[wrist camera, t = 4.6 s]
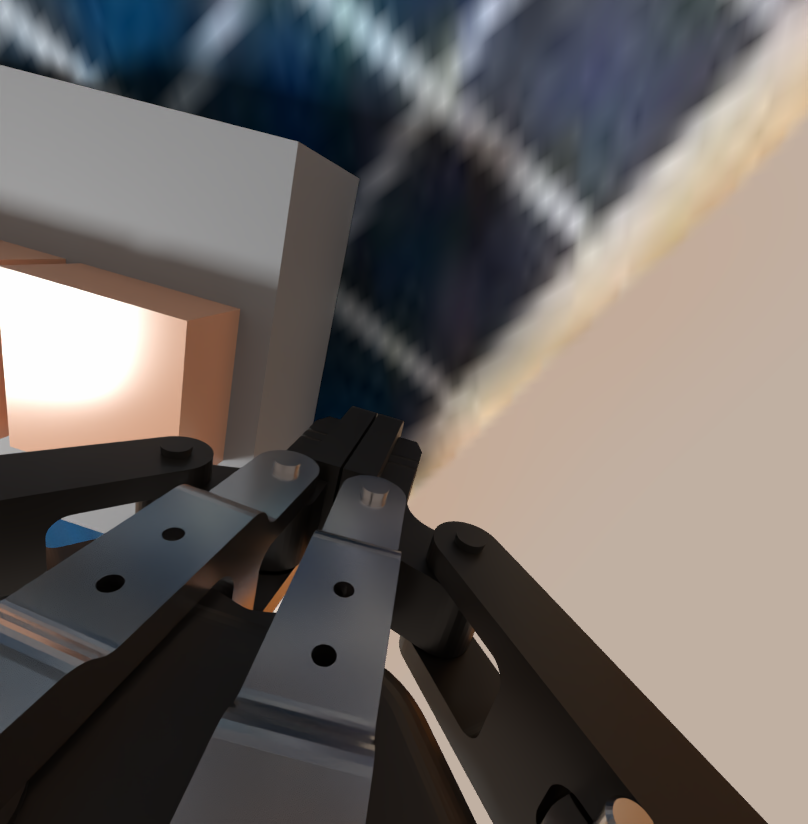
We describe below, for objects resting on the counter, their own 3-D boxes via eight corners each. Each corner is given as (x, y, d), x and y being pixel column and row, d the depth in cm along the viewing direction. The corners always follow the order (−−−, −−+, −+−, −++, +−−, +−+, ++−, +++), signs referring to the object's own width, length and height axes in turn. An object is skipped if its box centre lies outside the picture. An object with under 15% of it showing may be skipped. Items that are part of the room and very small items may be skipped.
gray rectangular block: (43, 96, 18) (-158, 24, 12) (359, 178, 17) (298, 141, 11) (55, 417, 23) (-85, 471, 17) (299, 494, 22) (236, 576, 16)
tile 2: (81, 263, 13) (-4, 265, 11) (240, 308, 13) (186, 320, 11) (83, 416, 15) (9, 446, 13) (223, 460, 15) (173, 499, 12)
